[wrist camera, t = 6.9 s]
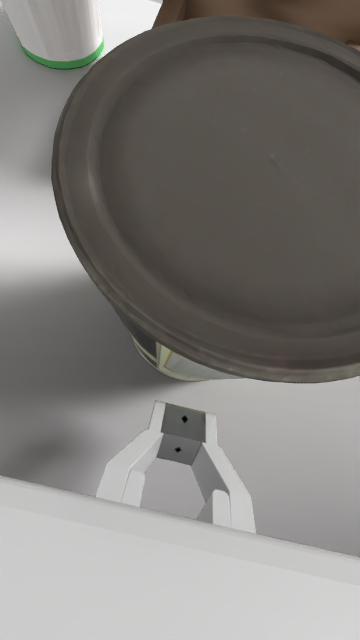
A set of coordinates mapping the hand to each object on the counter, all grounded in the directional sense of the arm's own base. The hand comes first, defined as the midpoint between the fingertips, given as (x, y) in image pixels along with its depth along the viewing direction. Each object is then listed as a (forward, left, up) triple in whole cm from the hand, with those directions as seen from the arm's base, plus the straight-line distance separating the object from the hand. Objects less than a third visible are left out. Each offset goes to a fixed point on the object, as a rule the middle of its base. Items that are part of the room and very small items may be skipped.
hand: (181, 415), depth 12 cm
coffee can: (0, -7, -6) cm, 9 cm away
